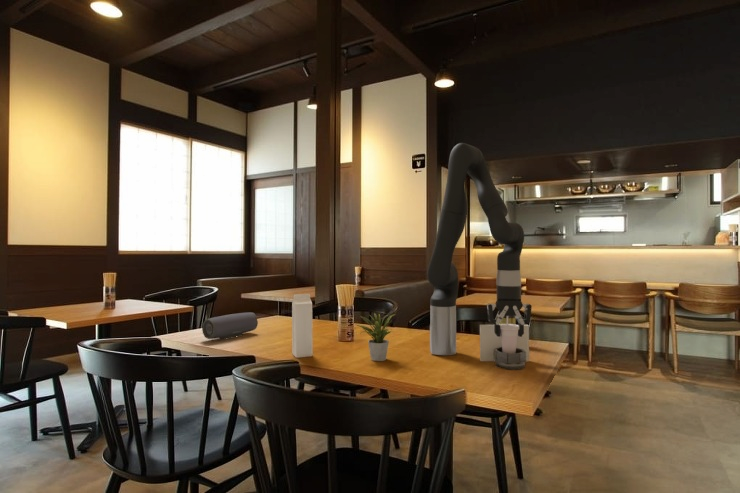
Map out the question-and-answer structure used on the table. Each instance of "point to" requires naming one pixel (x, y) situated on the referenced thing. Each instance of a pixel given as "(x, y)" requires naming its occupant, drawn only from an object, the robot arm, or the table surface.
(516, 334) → the smoothie
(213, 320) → the bluetooth speaker
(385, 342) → the house plant
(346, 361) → the table surface
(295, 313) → the milk
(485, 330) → the mounting board
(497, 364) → the cup bracket
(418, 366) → the table surface
